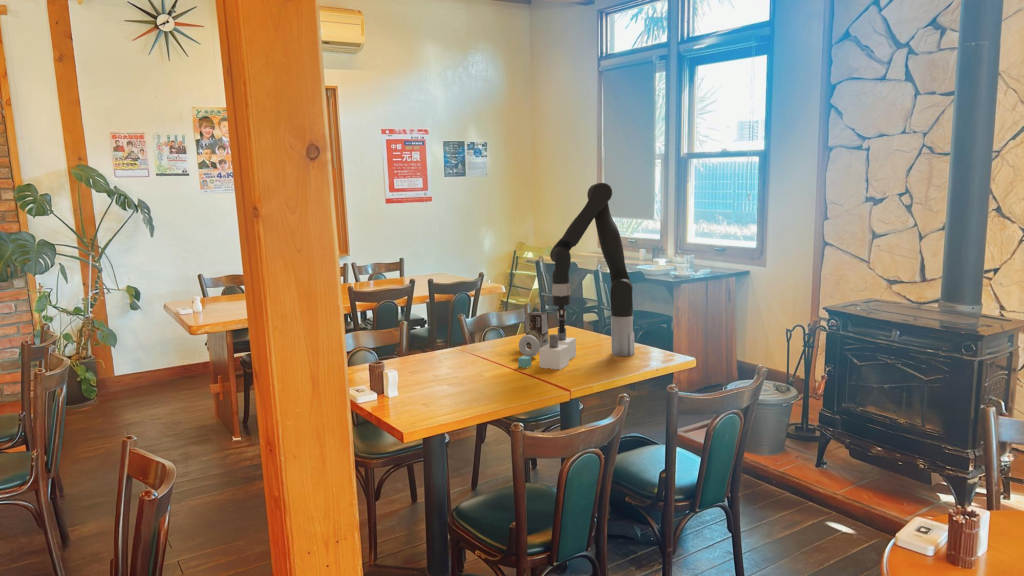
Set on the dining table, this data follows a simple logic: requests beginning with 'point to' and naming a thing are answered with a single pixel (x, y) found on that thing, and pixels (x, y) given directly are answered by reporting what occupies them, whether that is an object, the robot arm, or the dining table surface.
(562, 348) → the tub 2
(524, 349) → the donut
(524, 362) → the cube
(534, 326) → the grey mechanical block
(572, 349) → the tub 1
